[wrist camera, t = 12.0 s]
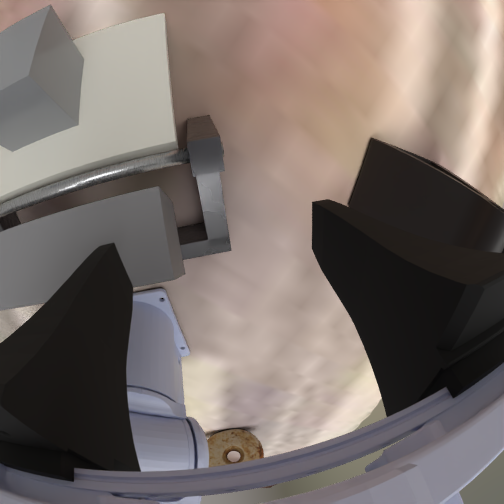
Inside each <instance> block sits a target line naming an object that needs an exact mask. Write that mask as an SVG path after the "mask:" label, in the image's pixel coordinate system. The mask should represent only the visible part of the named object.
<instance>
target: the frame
mask: <svg viewBox="0 0 504 504" xmlns="http://www.w3.org/2000/svg"><path fill="white" fill-rule="evenodd" d="M187 146H188V148H183V149H178V150H173V151H168V152H164V153H159V154H155V155H150V156H146V157H142V158H138V159H134V160H130V161H126V162H122V163H118V164H115V165H111V166H107V167H104V168H100V169H97V170H94V171H90V172H87V173H84V174H80V175H77V176H74V177H71V178H68V179H65V180H62V181H59V182H56V183H53V184H50V185H48V186H45V187H42V188H39V189H37V190H34V191H31V192H29V193H26V194H24V195H21V196H19V197H16V198H14V199H11V200H8V201H6V202H3V203H1V204H0V232H1V231H4V230H7V229H10V228H12V227H15V226H18V225H21V224H20V222H19V220H18V217H17V215H16V213H15V211H18V210H21V209H23V208H26V207H29V206H32V205H34V204H37V203H40V202H43V201H46V200H49V199H52V198H55V197H58V196H61V195H64V194H67V193H70V192H74V191H77V190H80V189H83V188H87V187H90V186H94V185H97V184H101V183H104V182H108V181H112V180H116V179H119V178H123V177H127V176H131V175H135V174H139V173H144V172H148V171H152V170H157V169H161V168H166V167H170V166H175V165H180V164H185V163H191V169H192V174H193V177H195V176H196V179H197V184H198V189H199V195H200V200H201V205H202V211H203V216H204V221H205V223H201V224H196V225H191V226H185V227H180V228H177V231H178V237H179V243H180V248H181V254H182V259H183V260H185V259H190V258H195V257H201V256H206V255H211V254H216V253H221V252H227V251H231V245H230V239H229V232H228V226H227V219H226V213H225V206H224V200H223V193H222V186H221V179H220V173H219V172H223V171H225V169H224V162H223V157H224V151H223V145H222V142H221V140H220V135H219V133H218V131H217V129H216V127H215V125H214V123H213V121H212V119H211V117H210V115H207V116H201V117H196V118H190V119H188V121H187Z"/></svg>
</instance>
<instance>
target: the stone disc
mask: <svg viewBox="0 0 504 504" xmlns="http://www.w3.org/2000/svg"><path fill="white" fill-rule="evenodd" d="M207 443H208V450H209V467H214V466H222V465H228V464H234V463H240V462H246V461H251V460H256V459H261V458H264V453H263V448H262V445H261V443H260V441H259V440H258V439H257V437H256V436H254V435H253V434H251V433H250V432H248V431H245V430H242V429H231V430H226V431H222V432H219V433H216V434H214V435H213V436H211V437H210V438H209V439H208V440H207ZM231 451H237V452H239V453H240V455H241V457H240V459H239V461H237V462H231V461H229V460H228V458H227V455H228V453H229V452H231Z"/></svg>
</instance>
